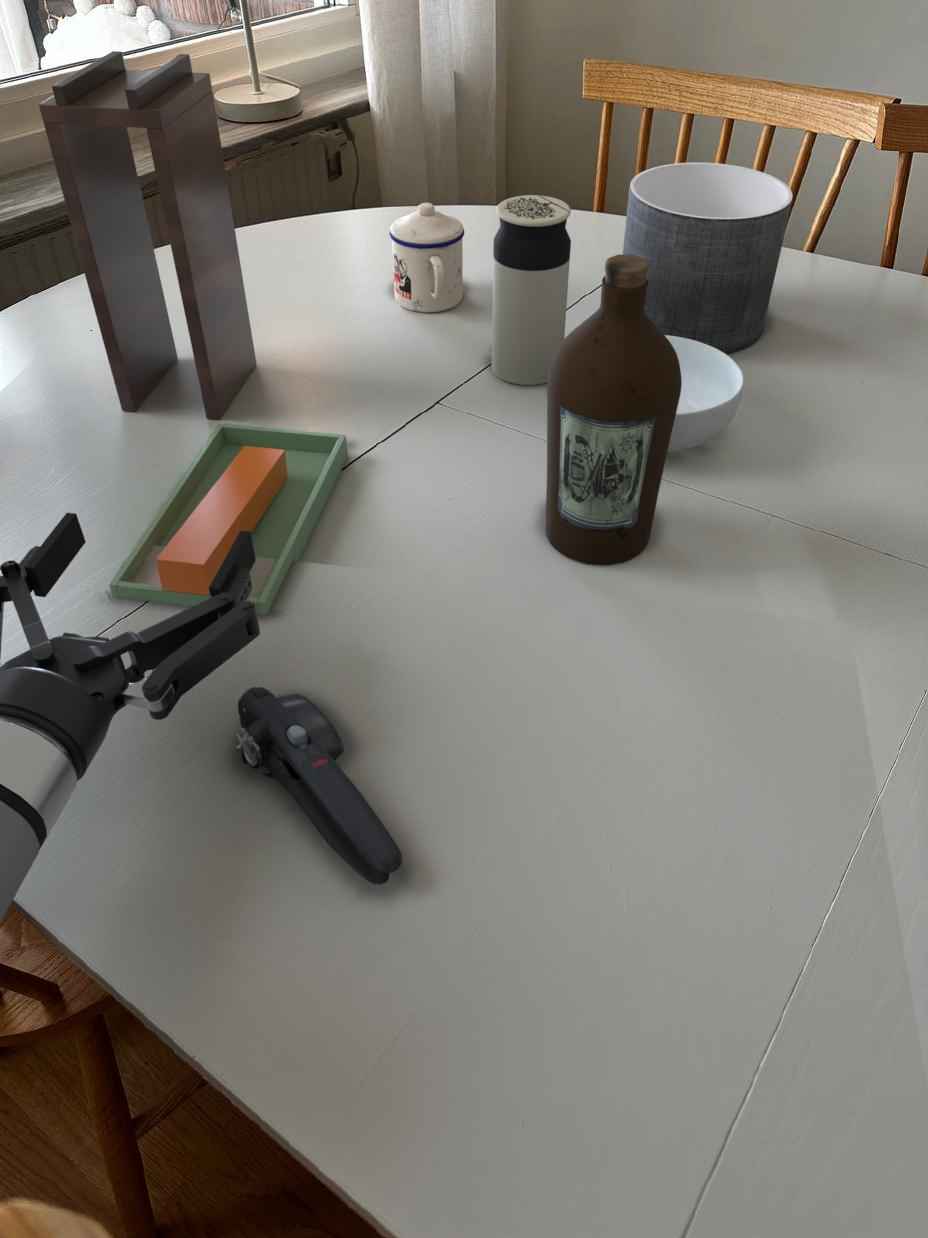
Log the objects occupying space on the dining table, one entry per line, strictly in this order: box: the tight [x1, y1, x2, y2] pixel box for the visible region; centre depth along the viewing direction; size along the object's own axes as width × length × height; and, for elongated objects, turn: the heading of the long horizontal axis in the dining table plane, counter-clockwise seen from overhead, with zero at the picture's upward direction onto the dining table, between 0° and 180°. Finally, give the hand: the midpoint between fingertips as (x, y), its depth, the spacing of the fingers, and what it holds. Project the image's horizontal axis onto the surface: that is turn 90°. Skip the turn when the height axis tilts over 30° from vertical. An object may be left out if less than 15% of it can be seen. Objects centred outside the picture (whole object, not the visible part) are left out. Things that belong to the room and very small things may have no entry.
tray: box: [109, 422, 349, 616], centre depth 89 cm, size 13×25×2 cm, turn 170°
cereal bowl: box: [665, 335, 745, 453], centre depth 98 cm, size 17×17×7 cm
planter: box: [622, 162, 794, 354], centre depth 114 cm, size 18×18×16 cm
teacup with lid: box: [389, 202, 465, 313], centre depth 119 cm, size 12×9×12 cm
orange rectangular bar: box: [155, 446, 288, 595], centre depth 86 cm, size 4×20×3 cm, turn 170°
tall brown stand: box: [38, 50, 258, 421], centre depth 97 cm, size 11×12×32 cm
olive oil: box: [544, 253, 682, 566], centre depth 80 cm, size 11×11×25 cm
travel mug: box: [491, 194, 572, 386], centre depth 104 cm, size 8×8×18 cm
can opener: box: [234, 686, 403, 886], centre depth 64 cm, size 18×7×6 cm, turn 35°
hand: (161, 535), depth 73 cm, fingers open, 13 cm apart
